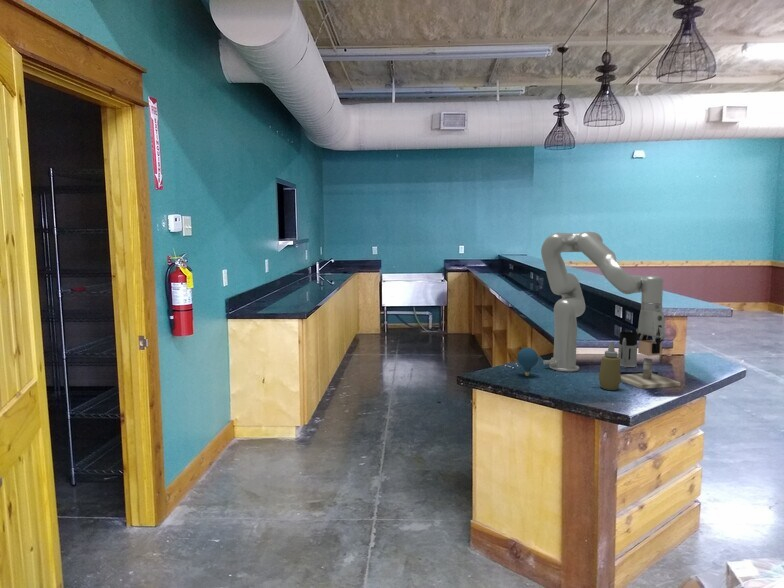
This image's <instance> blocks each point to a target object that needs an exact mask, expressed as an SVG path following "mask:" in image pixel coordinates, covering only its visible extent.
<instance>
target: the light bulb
mask: <svg viewBox="0 0 784 588" xmlns="http://www.w3.org/2000/svg"><path fill="white" fill-rule="evenodd" d="M517 362H518V364H519V365H520V366H521V367H522V368H523V370H524V375H525V376H526V377H528V376H530V372H531V369H532V368H533V367H534V366H536V365H537V363H538V362H539V355H538V352H537V351H536V350H535V349H533V348H531V347H524V348H521V349H520V350H519V352H518V353H517Z"/></svg>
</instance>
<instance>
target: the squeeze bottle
mask: <svg viewBox="0 0 784 588" xmlns="http://www.w3.org/2000/svg"><path fill="white" fill-rule="evenodd" d="M600 360H601V361H600V367H599V368H600V369H599V373H598V381H599V384H600V385H599V386H600V387H601V388H602V389H603V390H606V391H607V390H609V391H615V390H618V389H619V386H620V384H621V382H622V381H621V375H622V374H621V373H622V372H621V367H620V359H619V358H618V351H615V345H614V342H613V341H611V342H609V345H608V349H607V350H604V356H602V357H601V359H600Z"/></svg>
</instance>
